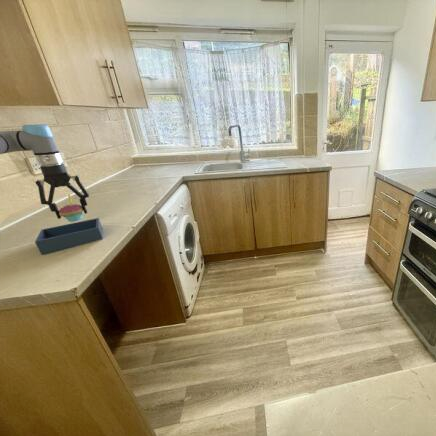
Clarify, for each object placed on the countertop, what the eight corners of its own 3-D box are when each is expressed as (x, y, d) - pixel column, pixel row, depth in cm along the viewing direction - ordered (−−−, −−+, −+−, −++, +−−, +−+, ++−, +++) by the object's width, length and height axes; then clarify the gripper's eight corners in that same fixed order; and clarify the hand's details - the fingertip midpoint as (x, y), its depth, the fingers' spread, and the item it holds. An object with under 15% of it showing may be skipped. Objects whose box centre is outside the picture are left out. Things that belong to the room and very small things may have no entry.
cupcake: (77, 215, 115) (66, 191, 110) (92, 216, 113) (81, 191, 108) (58, 223, 107) (45, 198, 102) (73, 224, 105) (61, 198, 100)
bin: (41, 254, 90) (34, 241, 88) (47, 241, 99) (41, 229, 97) (102, 239, 100) (98, 227, 97) (102, 229, 109) (98, 217, 107)
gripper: (12, 169, 91) (39, 224, 101) (83, 162, 103) (102, 211, 112) (17, 166, 97) (42, 218, 106) (84, 159, 108) (102, 207, 117)
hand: (73, 215), depth 109 cm, fingers closed on cupcake, 8 cm apart
